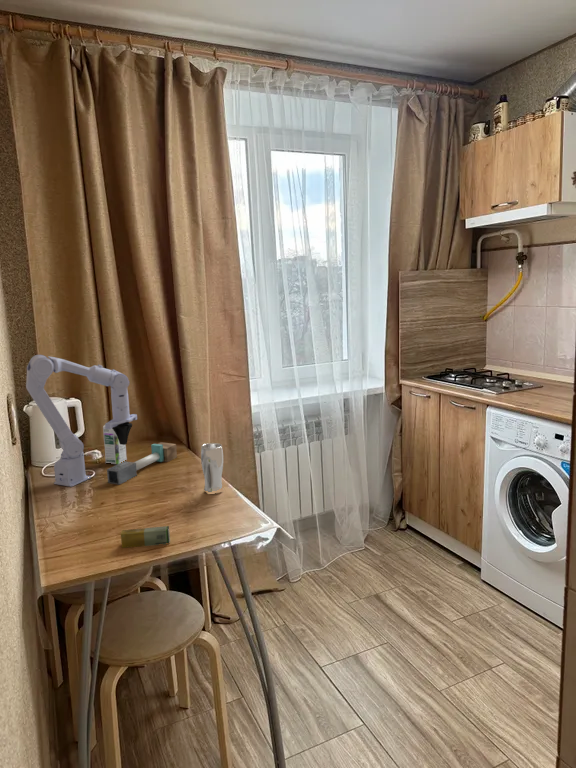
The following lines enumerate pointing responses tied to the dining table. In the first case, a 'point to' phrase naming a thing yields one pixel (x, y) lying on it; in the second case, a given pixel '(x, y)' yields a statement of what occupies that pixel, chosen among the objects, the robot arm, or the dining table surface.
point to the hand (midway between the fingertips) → (123, 444)
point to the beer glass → (212, 466)
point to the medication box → (145, 537)
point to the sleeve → (121, 472)
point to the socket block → (169, 451)
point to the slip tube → (151, 456)
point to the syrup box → (113, 447)
